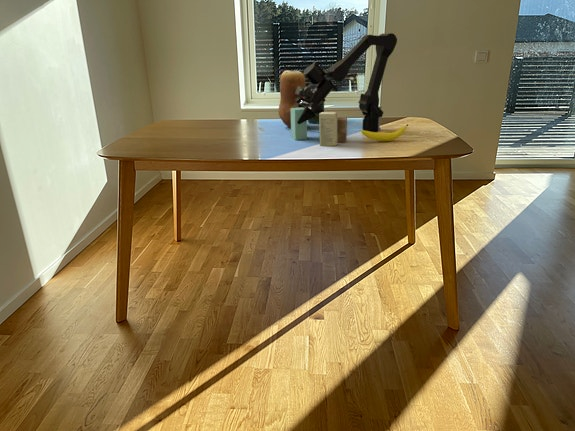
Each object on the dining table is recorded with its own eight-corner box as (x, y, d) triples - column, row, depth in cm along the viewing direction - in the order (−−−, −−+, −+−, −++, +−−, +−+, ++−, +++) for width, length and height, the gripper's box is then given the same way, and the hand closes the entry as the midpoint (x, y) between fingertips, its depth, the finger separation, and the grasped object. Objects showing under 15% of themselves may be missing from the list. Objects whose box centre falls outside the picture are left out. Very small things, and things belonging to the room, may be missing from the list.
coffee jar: (322, 124, 200) (323, 83, 192) (306, 123, 201) (306, 83, 194) (325, 120, 208) (325, 81, 201) (309, 120, 210) (309, 81, 203)
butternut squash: (313, 127, 193) (313, 70, 183) (289, 131, 186) (288, 72, 176) (296, 123, 203) (295, 68, 193) (272, 127, 196) (270, 70, 187)
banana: (358, 142, 165) (359, 125, 162) (405, 139, 166) (406, 123, 164) (360, 143, 162) (361, 127, 160) (408, 141, 164) (409, 124, 161)
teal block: (302, 136, 177) (302, 107, 172) (306, 138, 172) (306, 109, 167) (291, 137, 175) (290, 108, 170) (295, 140, 171) (294, 110, 166)
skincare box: (337, 143, 163) (338, 111, 158) (335, 146, 159) (335, 113, 154) (321, 142, 165) (321, 111, 160) (318, 145, 161) (318, 113, 156)
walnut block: (346, 140, 168) (347, 117, 164) (345, 143, 164) (346, 119, 160) (335, 140, 169) (335, 117, 165) (333, 142, 165) (334, 119, 161)
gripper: (298, 76, 174) (274, 106, 175) (316, 80, 158) (289, 112, 159) (316, 95, 179) (292, 123, 180) (335, 100, 163) (309, 131, 164)
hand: (295, 122), depth 171 cm, fingers closed on teal block, 5 cm apart
